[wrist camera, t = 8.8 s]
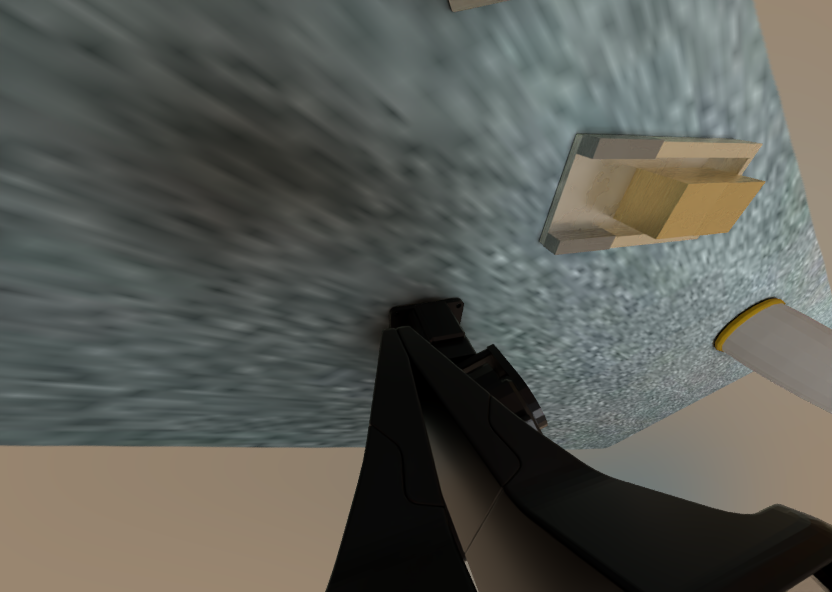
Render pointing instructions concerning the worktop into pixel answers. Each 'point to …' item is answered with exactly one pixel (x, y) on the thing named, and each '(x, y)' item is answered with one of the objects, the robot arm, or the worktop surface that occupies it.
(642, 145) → the slot board
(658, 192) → the chip
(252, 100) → the worktop surface
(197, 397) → the worktop surface
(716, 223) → the chip
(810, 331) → the soap bottle
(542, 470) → the robot arm
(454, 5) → the skincare box
